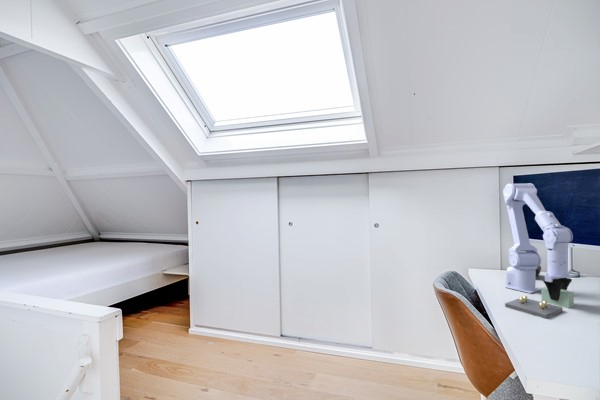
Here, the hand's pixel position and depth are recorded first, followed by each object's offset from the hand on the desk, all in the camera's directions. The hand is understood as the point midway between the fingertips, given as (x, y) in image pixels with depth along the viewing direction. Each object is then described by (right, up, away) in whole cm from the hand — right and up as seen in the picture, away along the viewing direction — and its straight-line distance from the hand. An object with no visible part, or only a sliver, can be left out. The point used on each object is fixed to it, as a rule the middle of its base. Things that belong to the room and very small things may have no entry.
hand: (557, 298), depth 111 cm
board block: (0, -2, 0) cm, 2 cm away
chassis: (-12, -2, -5) cm, 13 cm away
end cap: (+17, -1, +35) cm, 39 cm away
